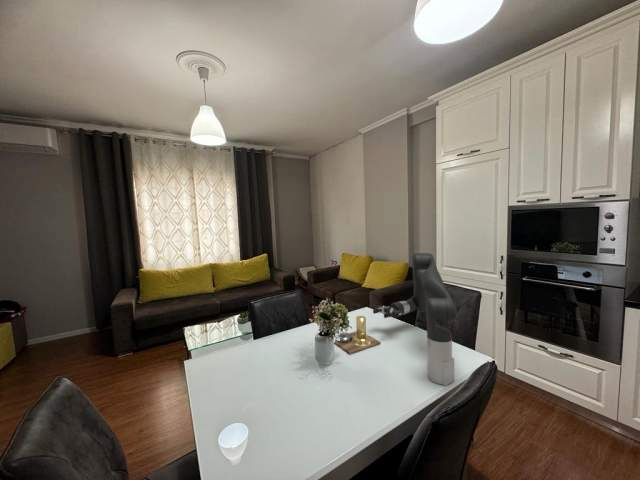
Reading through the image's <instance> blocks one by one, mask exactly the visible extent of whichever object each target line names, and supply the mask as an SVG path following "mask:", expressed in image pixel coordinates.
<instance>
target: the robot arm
mask: <svg viewBox="0 0 640 480" xmlns="http://www.w3.org/2000/svg"><path fill="white" fill-rule="evenodd" d="M411 260H412V261H411V264H412V277H413V296H411V298H409V299H407V300H402V301H401V300H400V301H396V302H393V303H391V304H390V305H389V306H386V305H385V304H384V305H380V306H376V308H374V309H373V311H372V313H373V315H374V314H379V313H382V314H383V318H384V319H387V318H393V319H396V318H399V317H402V316H404V315H406V314H409V313H413V312H414V311H416V310H417V311H418V312H421V313H422V312H423V313H424V312H426V313H425V314H426V360H427V362H426V364H427V366H426V370H427V375H426V376H427V378H428V379H429V381H432V382H433V383H435V384H438V385H442V386H445V387H446V386H447V385H449V384H452V383H453V382H455V358H454V357H453V334H452V332H451V330H449V329H448V328H446V327H444V326H442V325H439V324H437V323H453V322H455V321H456V320H457V317H458V311H457V307H456V304H455V302H454V300H453V299H452V297H451V295H450V294H449V292H448V290H447V288H446V286H445V284H444V281H443V279H442V278H443V277H441V274H440V273H439V271H438V267H437V264H436V260H435V258H434V256H433V254H432V253H429V252H421V253H420V252H418V253H417V252H416V253H413V255H412V258H411ZM421 270H422V271H424V272H422V274H420V271H421ZM427 294H428V295H430V297H428V295H427Z"/></svg>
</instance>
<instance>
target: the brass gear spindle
mask: <svg viewBox="0 0 640 480" xmlns="http://www.w3.org/2000/svg"><path fill="white" fill-rule="evenodd" d="M366 320H367V317H366V316H365V315H357V316H356V317H355V321H356V322H355V323H356V331H357V334H356V335H355V336H353V337H352V341H353V342H354V344H359V345H361V346H362V345H364V344H365V345H368V342H369V343H371V338H369V336H370V335H368V334H367V321H366ZM366 334H367V335H366Z"/></svg>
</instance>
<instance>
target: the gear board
mask: <svg viewBox="0 0 640 480" xmlns="http://www.w3.org/2000/svg"><path fill="white" fill-rule="evenodd" d="M348 334H350V335H352V336H355V335H356V334H357V330H356V331H352V332H348ZM366 335H368V334H367V333H366ZM369 338H371V343H369V342H368V345H365V344H364V345H362V346H361V345H359V344H354V342H353V341H352V340H351V341H350V343H341V344H340V343H339V342H338V341H335V344H334V345H336V346H337V347H338V348H340V349H342V351H344V352H345V353H346V354H347V355H349V356H350V355H354V354H356V353H359V352H361V351H365V350H368V349H371V348H374V347H377V346H380V345H381V341H379V340H378V339H376V338H374V337H373V336H370V335H369Z"/></svg>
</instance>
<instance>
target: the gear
mask: <svg viewBox="0 0 640 480" xmlns="http://www.w3.org/2000/svg"><path fill="white" fill-rule="evenodd" d="M339 333H340V337H341V339H340V341H338V342H339V343H340V344H341V343H350V341H351V340H352V337H353V336H352V335H350V334H349V332H345V331H343V332H339Z"/></svg>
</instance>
